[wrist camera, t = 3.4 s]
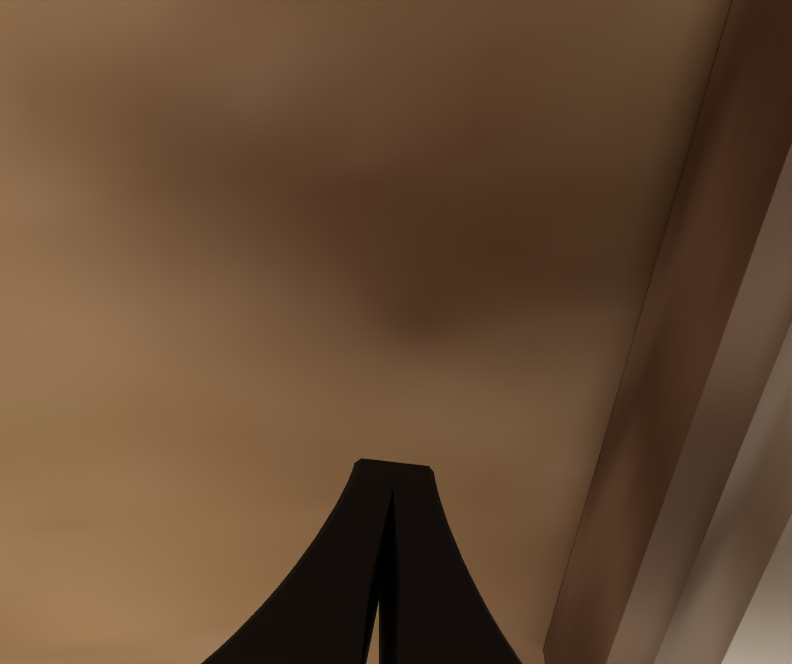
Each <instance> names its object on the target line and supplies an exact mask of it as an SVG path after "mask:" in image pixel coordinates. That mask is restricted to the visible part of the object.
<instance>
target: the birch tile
mask: <svg viewBox="0 0 792 664" xmlns="http://www.w3.org/2000/svg"><path fill="white" fill-rule="evenodd" d="M654 664H792V322H791V324H790V327H789V329H788V332H787V334H786V337H785V339H784V342H783V344H782V347H781V349H780V352H779V354H778V357H777V359H776V362H775V364H774V367H773V369H772V371H771V374H770V376H769V379H768V381H767V384H766V386H765V389H764V391H763V394H762V396H761V399H760V401H759V404H758V406H757V409H756V411H755V414H754V416H753V419H752V421H751V424H750V426H749V429H748V431H747V434H746V436H745V438H744V441H743V443H742V446H741V448H740V451H739V453H738V456H737V458H736V461H735V463H734V466H733V468H732V471H731V473H730V476H729V478H728V481H727V483H726V486H725V488H724V491H723V493H722V496H721V498H720V501H719V503H718V505H717V508H716V510H715V513H714V515H713V518H712V520H711V523H710V525H709V528H708V530H707V533H706V535H705V538H704V540H703V543H702V545H701V548H700V550H699V553H698V555H697V558H696V560H695V563H694V565H693V568H692V570H691V572H690V575H689V577H688V580H687V582H686V585H685V587H684V590H683V592H682V595H681V597H680V600H679V602H678V605H677V607H676V610H675V612H674V615H673V617H672V620H671V622H670V625H669V627H668V630H667V632H666V635H665V637H664V639H663V642H662V644H661V647H660V649H659V652H658V654H657V657H656V659H655V662H654Z"/></svg>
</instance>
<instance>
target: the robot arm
mask: <svg viewBox="0 0 792 664" xmlns="http://www.w3.org/2000/svg"><path fill="white" fill-rule="evenodd" d="M378 602H379V664H522V663H521V661H520V660H519V658H518V657H517V655H516V654H515V652H514V651H513V649H512V648H511V646H510V645H509V643H508V642H507V640H506V638H505V637H504V635H503V634H502V632H501V630H500V629H499V627H498V625H497V624H496V622H495V620H494V619H493V617H492V615H491V614H490V612H489V610H488V608H487V607H486V605H485V603H484V601H483V599H482V597H481V595H480V594H479V592H478V590H477V588H476V586H475V584H474V582H473V580H472V578H471V576H470V574H469V572H468V569H467V567H466V565H465V563H464V561H463V559H462V556H461V554H460V551H459V549H458V547H457V544H456V542H455V540H454V537H453V535H452V532H451V530H450V527H449V524H448V522H447V519H446V516H445V513H444V510H443V507H442V504H441V501H440V497H439V494H438V490H437V486H436V482H435V476H434V472H433V470H432V469H431V468H430V467H429V466H423V465H415V464H406V463H397V462H389V461H380V460H371V459H362V458H361V459H360V460H358V461H357V462H355V463H354V467H353V470H352V473H351V475H350V478H349V480H348V482H347V484H346V486H345V488H344V490H343V492H342V494H341V496H340V498H339V500H338V502H337V503H336V505H335V507H334V509H333V510H332V512H331V514H330V515H329V517H328V518H327V520H326V522H325V523H324V525H323V526H322V528H321V530H320V531H319V533H318V534H317V536H316V537H315V539H314V540H313V542H312V543H311V544H310V546H309V547H308V549H307V550H306V551H305V553H304V554H303V555H302V557H301V558H300V560H299V561H298V562H297V564H296V565H295V566H294V568H293V569H292V570H291V572H290V573H289V574H288V575H287V577H286V578H285V579H284V580H283V582H282V583H281V584H280V585H279V586H278V588H277V589H276V590H275V591H274V592H273V593H272V594H271V596H270V597H269V598H268V599H267V600H266V601H265V602H264V604H263V605H262V606H261V607H260V608H259V609H258V610H257V611H256V612H255V613H254V614H253V615H252V616H251V617H250V618H249V619H248V620H247V621H246V622H245V623H244V624H243V625H242V626H241V628H240V629H239V630H238V631H237V632H236V633H235V634H234V635H232V636H231V637H230V638H229V639H228V640H227V641H226V642H225V643H224V644H223V645H222V646H221V647H220V648H219V649H218V650H216V651H215V652H214V653H213V654H212V655H211V656H209V657H208V658H207V659H206V660H205V661H204V662H202V663H201V664H366V662H367V657H368V652H369V647H370V642H371V637H372V632H373V627H374V622H375V617H376V612H377V607H378Z"/></svg>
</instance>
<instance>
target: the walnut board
mask: <svg viewBox="0 0 792 664" xmlns="http://www.w3.org/2000/svg"><path fill="white" fill-rule="evenodd" d="M791 322H792V0H732V3H731V7H730V10H729V13H728V17H727V20H726V24H725V27H724V31H723V34H722V37H721V41H720V44H719V48H718V51H717V55H716V58H715V62H714V65H713V68H712V72H711V75H710V79H709V82H708V86H707V89H706V92H705V96H704V99H703V103H702V106H701V110H700V113H699V116H698V120H697V123H696V127H695V130H694V134H693V137H692V140H691V144H690V147H689V151H688V154H687V158H686V161H685V164H684V168H683V171H682V175H681V178H680V182H679V185H678V188H677V192H676V195H675V199H674V202H673V206H672V209H671V212H670V216H669V219H668V223H667V226H666V230H665V233H664V236H663V240H662V243H661V247H660V250H659V254H658V257H657V260H656V264H655V267H654V271H653V274H652V278H651V281H650V284H649V288H648V291H647V295H646V298H645V302H644V305H643V308H642V312H641V315H640V319H639V322H638V326H637V329H636V332H635V336H634V339H633V343H632V346H631V350H630V353H629V356H628V360H627V363H626V367H625V370H624V374H623V377H622V381H621V384H620V387H619V391H618V394H617V398H616V401H615V405H614V408H613V411H612V415H611V418H610V422H609V425H608V429H607V432H606V435H605V439H604V442H603V446H602V449H601V453H600V456H599V459H598V463H597V466H596V470H595V473H594V477H593V480H592V483H591V487H590V490H589V494H588V497H587V501H586V504H585V507H584V511H583V514H582V518H581V521H580V525H579V528H578V531H577V535H576V538H575V542H574V545H573V549H572V552H571V555H570V559H569V562H568V566H567V569H566V573H565V576H564V579H563V583H562V586H561V590H560V593H559V597H558V600H557V603H556V607H555V610H554V614H553V617H552V621H551V624H550V627H549V631H548V634H547V638H546V641H545V645H544V648H543V652H544V660H545V664H654V662H655V659H656V657H657V654H658V652H659V649H660V647H661V644H662V642H663V639H664V637H665V635H666V632H667V630H668V627H669V625H670V622H671V620H672V617H673V615H674V612H675V610H676V607H677V605H678V602H679V600H680V597H681V595H682V592H683V590H684V587H685V585H686V582H687V580H688V577H689V575H690V572H691V570H692V568H693V565H694V563H695V560H696V558H697V555H698V553H699V550H700V548H701V545H702V543H703V540H704V538H705V535H706V533H707V530H708V528H709V525H710V523H711V520H712V518H713V515H714V513H715V510H716V508H717V505H718V503H719V501H720V498H721V496H722V493H723V491H724V488H725V486H726V483H727V481H728V478H729V476H730V473H731V471H732V468H733V466H734V463H735V461H736V458H737V456H738V453H739V451H740V448H741V446H742V443H743V441H744V438H745V436H746V434H747V431H748V429H749V426H750V424H751V421H752V419H753V416H754V414H755V411H756V409H757V406H758V404H759V401H760V399H761V396H762V394H763V391H764V389H765V386H766V384H767V381H768V379H769V376H770V374H771V371H772V369H773V367H774V364H775V362H776V359H777V357H778V354H779V352H780V349H781V347H782V344H783V342H784V339H785V337H786V334H787V332H788V329H789V327H790V324H791Z"/></svg>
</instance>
